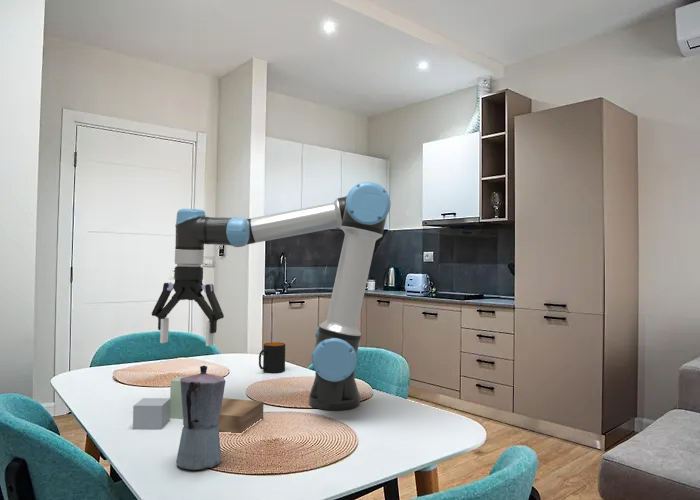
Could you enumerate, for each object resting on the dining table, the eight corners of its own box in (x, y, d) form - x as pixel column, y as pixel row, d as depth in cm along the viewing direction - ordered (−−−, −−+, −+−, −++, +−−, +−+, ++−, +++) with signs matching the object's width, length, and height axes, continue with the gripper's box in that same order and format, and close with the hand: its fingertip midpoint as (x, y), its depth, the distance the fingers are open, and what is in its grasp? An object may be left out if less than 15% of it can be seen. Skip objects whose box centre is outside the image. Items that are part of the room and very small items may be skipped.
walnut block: (263, 420, 137) (263, 401, 137) (240, 437, 123) (240, 416, 123) (215, 415, 140) (215, 397, 140) (188, 432, 127) (188, 411, 127)
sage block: (201, 413, 141) (202, 376, 141) (190, 419, 135) (191, 381, 135) (181, 411, 142) (182, 375, 142) (169, 418, 136) (170, 380, 137)
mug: (251, 373, 192) (251, 345, 193) (274, 368, 202) (274, 341, 202) (266, 376, 187) (267, 347, 188) (289, 371, 197) (289, 344, 197)
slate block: (170, 421, 134) (170, 398, 134) (161, 429, 127) (162, 405, 127) (142, 421, 134) (143, 398, 134) (132, 429, 127) (133, 405, 127)
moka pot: (230, 450, 114) (232, 360, 114) (214, 480, 98) (216, 375, 99) (186, 450, 113) (188, 359, 114) (163, 480, 98) (166, 375, 98)
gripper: (237, 266, 141) (235, 344, 140) (156, 264, 146) (153, 339, 145) (225, 267, 133) (222, 348, 133) (140, 264, 139) (137, 343, 138)
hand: (186, 343), depth 139 cm, fingers open, 13 cm apart
